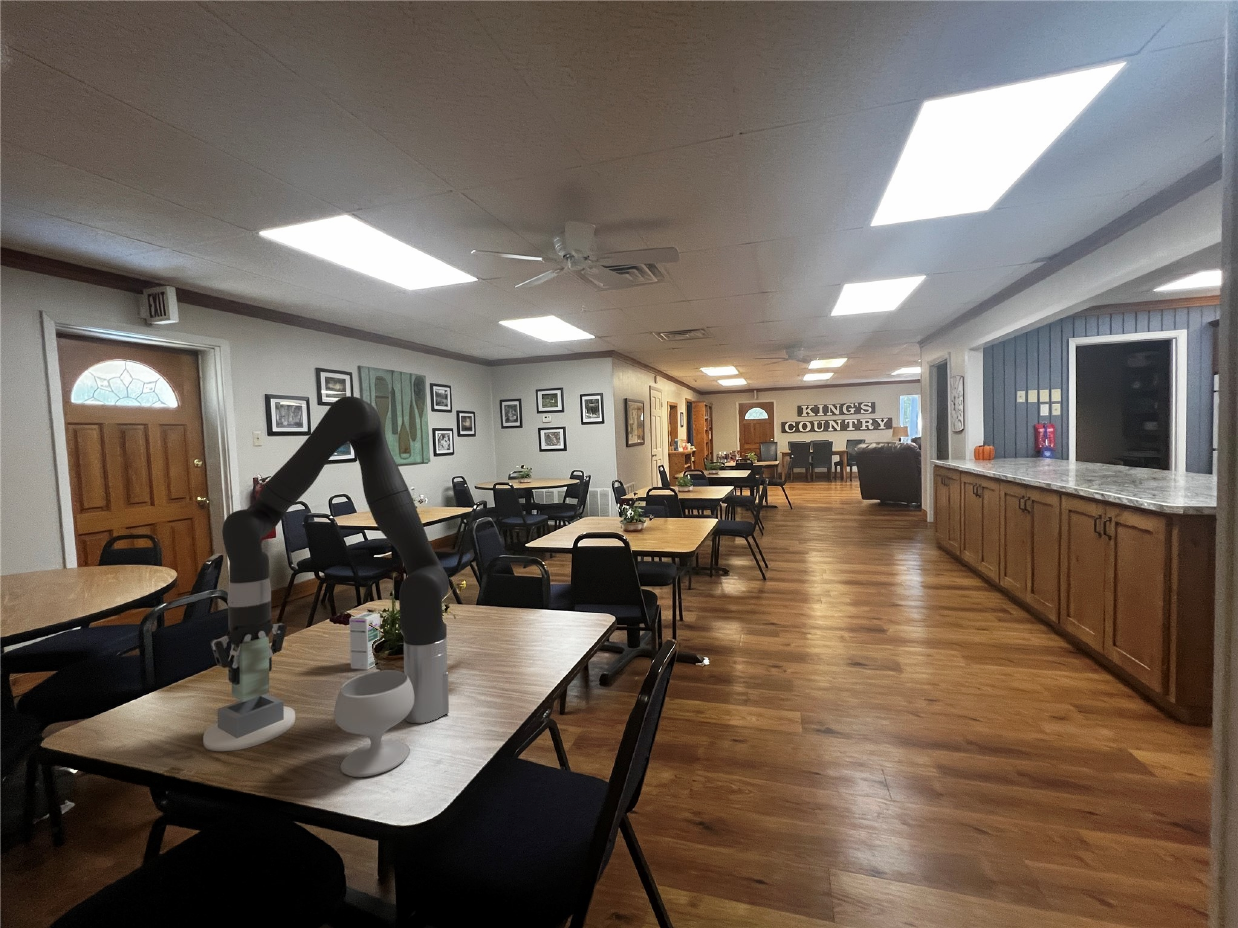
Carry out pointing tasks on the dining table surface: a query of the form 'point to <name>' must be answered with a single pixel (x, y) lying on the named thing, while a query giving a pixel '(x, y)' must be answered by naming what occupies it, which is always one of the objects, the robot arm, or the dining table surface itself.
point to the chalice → (374, 719)
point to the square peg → (253, 670)
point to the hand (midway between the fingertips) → (250, 678)
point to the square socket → (249, 724)
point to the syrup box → (363, 639)
